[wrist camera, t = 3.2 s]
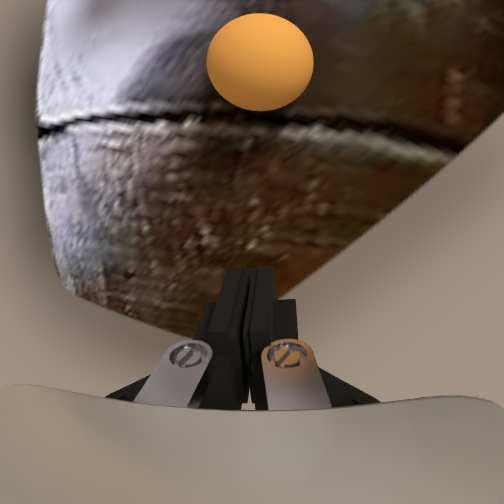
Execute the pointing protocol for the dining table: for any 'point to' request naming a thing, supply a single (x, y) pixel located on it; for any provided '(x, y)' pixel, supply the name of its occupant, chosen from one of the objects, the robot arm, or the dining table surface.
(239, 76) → the ball
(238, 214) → the dining table surface
